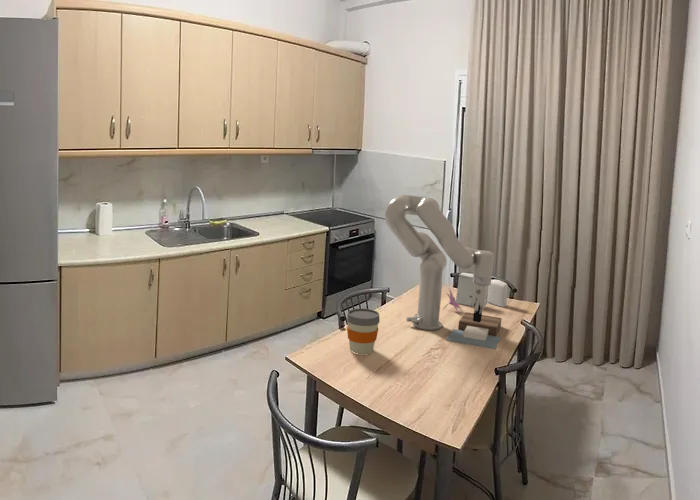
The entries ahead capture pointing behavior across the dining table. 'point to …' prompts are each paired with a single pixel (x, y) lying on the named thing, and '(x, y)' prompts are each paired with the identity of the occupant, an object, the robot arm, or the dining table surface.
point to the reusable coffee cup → (362, 330)
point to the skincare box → (465, 289)
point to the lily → (452, 301)
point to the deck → (481, 323)
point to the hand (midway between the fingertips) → (476, 321)
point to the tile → (476, 333)
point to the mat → (458, 337)
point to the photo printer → (497, 293)
